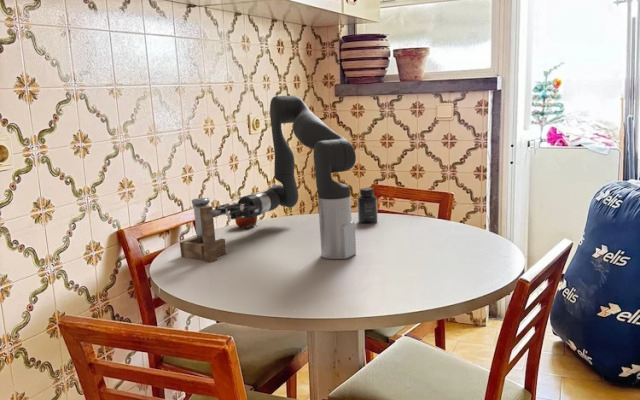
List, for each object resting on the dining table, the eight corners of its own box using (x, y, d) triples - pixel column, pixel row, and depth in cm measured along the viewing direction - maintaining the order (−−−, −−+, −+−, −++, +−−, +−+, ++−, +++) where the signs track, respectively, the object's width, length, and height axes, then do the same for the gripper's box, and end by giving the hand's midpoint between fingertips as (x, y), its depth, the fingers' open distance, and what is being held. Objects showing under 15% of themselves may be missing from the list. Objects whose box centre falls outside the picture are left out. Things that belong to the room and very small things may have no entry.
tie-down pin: (218, 252, 172) (212, 198, 169) (205, 257, 168) (200, 201, 165) (206, 251, 175) (200, 197, 172) (193, 255, 171) (187, 200, 167)
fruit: (250, 227, 198) (240, 207, 199) (238, 236, 202) (228, 216, 204) (266, 222, 204) (256, 202, 205) (253, 231, 209) (244, 212, 210)
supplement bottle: (380, 220, 202) (379, 187, 200) (372, 224, 197) (370, 191, 194) (364, 219, 206) (362, 186, 204) (355, 223, 200) (353, 190, 198)
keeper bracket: (241, 255, 168) (236, 202, 165) (220, 263, 160) (214, 209, 157) (201, 249, 177) (196, 199, 174) (180, 257, 170) (174, 205, 167)
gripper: (237, 193, 192) (203, 202, 179) (270, 195, 184) (237, 204, 171) (239, 214, 194) (205, 225, 180) (272, 217, 186) (239, 228, 173)
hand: (221, 215), depth 176 cm, fingers open, 8 cm apart
